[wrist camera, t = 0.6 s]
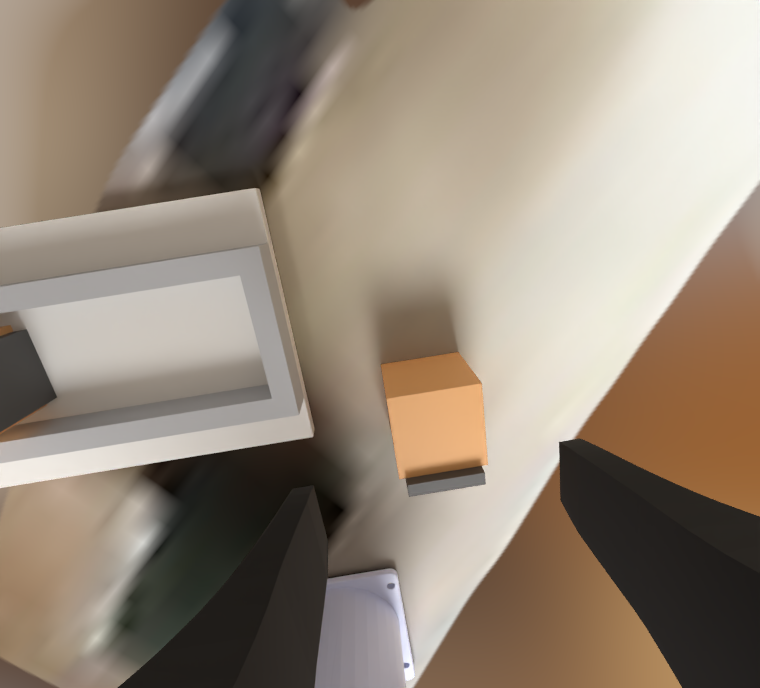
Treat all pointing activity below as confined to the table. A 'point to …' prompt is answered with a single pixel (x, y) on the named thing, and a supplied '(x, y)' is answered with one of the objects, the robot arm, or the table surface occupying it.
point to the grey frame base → (144, 339)
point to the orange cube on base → (436, 423)
